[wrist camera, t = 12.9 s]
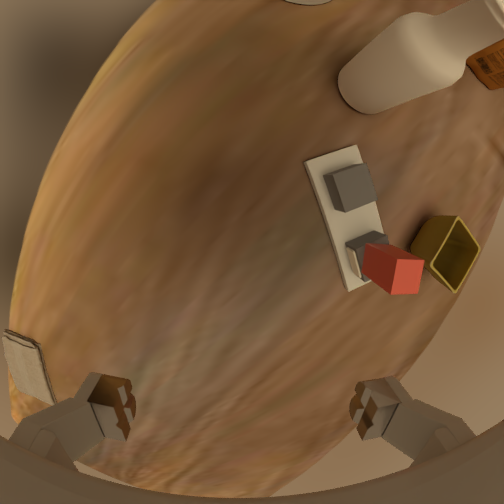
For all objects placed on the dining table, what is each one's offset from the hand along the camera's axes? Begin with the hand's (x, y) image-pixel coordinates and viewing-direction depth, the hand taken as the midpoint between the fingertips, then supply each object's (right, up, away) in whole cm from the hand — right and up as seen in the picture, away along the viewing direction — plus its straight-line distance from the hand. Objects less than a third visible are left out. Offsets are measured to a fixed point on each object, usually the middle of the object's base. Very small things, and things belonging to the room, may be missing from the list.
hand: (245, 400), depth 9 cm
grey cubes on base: (+15, +10, +31) cm, 35 cm away
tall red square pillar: (+17, +4, +27) cm, 32 cm away
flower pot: (+30, +7, +33) cm, 45 cm away
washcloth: (-48, -20, +34) cm, 63 cm away
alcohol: (+17, +30, +26) cm, 43 cm away
